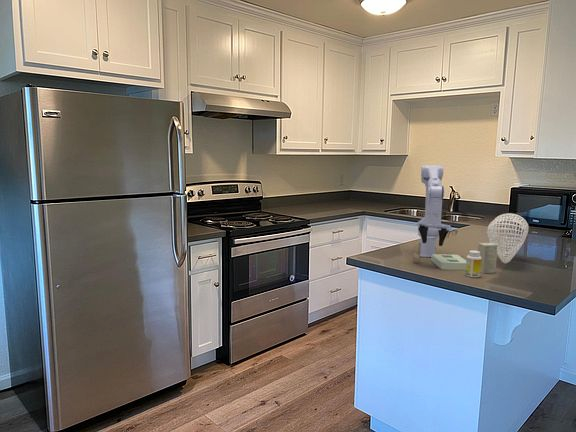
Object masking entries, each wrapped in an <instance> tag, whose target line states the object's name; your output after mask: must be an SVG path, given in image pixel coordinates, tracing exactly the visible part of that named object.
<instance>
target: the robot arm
mask: <svg viewBox="0 0 576 432" xmlns="http://www.w3.org/2000/svg"><path fill="white" fill-rule="evenodd" d="M420 171H421V172H420V181H421V183H423V184H424V185H425V201H424V202H425V206H424V207H425V208H424V217H423V218H421V219H420V220H419V221H417V223H416V225H417V227H418V228H417V231H418V233H417V235H418V237H420V238H419V242H418V243H421V249H420V258H431V254H436V250H437V239H438V246H439V247H442V246H443V245H444V243H445V239H446V238H447V236H448V234H449V233H450V231H451V229H452V226H451V225H448V224H446V223H445V224H444V223H442V212H443V211H442V210H443V208H442V207H443V200H444V197H445V187H444V185H442V180H443V177H444V166H443V165H442V164H439V165H437V164H436V165H435V164H434V165H433V164H428V165H427V164H422V165H421V169H420Z"/></svg>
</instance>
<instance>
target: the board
mask: <svg viewBox="0 0 576 432" xmlns="http://www.w3.org/2000/svg"><path fill="white" fill-rule="evenodd" d="M430 258H431V259H430V261H431V262H432V263H433V264H435V266H436V267H438V268H439V269H441V270H447V271H449V270H450V271H452V270H453V271H455V270H456V271H466V261H467V259H464V258H463V257H462V256H460V255H458V254H445V253H444V254H442V253H441V254H440V253H439V254H437V253H435V254H431V257H430Z"/></svg>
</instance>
